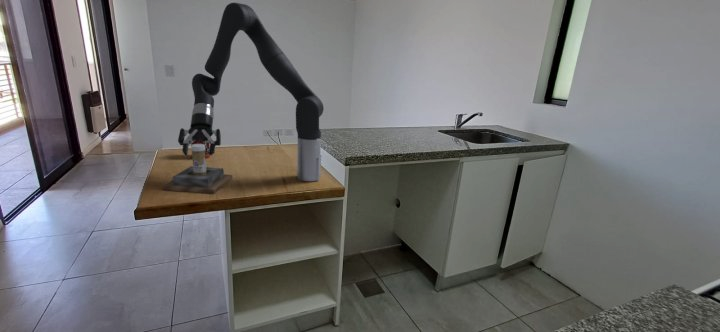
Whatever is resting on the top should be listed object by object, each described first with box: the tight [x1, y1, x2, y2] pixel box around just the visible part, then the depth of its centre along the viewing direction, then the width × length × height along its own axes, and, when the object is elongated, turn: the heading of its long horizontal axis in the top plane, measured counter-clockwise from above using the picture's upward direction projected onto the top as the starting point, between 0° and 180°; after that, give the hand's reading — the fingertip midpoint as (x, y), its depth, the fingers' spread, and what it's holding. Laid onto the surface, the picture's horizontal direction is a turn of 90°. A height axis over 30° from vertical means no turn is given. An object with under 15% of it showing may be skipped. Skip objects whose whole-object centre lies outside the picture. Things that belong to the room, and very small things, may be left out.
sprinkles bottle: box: [190, 144, 207, 176], centre depth 123 cm, size 5×5×13 cm
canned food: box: [190, 140, 211, 159], centre depth 155 cm, size 8×8×11 cm
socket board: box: [162, 165, 234, 194], centre depth 124 cm, size 18×16×4 cm
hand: (198, 154), depth 122 cm, fingers open, 8 cm apart
